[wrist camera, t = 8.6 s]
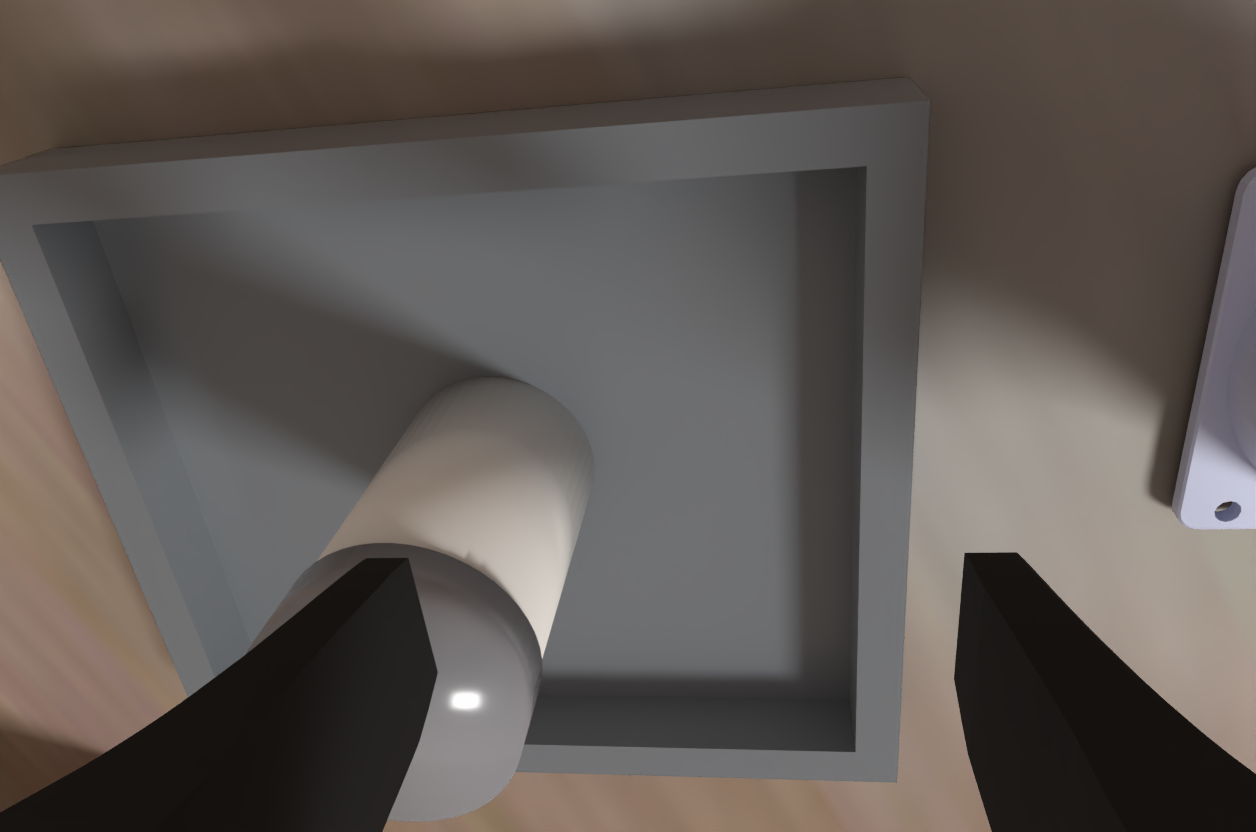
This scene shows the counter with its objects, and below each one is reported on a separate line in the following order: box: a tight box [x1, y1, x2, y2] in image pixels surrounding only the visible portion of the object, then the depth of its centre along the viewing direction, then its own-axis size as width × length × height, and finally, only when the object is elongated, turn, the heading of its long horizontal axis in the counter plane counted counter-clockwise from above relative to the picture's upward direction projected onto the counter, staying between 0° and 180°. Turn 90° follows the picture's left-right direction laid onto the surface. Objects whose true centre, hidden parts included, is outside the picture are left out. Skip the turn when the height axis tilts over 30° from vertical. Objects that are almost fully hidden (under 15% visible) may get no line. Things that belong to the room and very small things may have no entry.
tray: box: [0, 77, 931, 782], centre depth 21 cm, size 18×16×2 cm
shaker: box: [246, 377, 594, 822], centre depth 18 cm, size 5×5×8 cm
